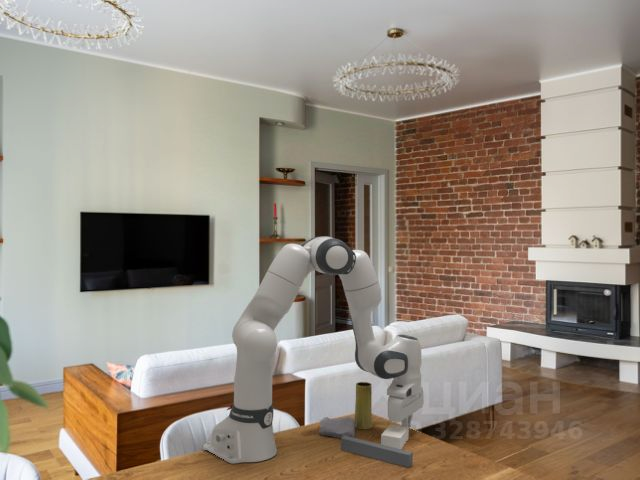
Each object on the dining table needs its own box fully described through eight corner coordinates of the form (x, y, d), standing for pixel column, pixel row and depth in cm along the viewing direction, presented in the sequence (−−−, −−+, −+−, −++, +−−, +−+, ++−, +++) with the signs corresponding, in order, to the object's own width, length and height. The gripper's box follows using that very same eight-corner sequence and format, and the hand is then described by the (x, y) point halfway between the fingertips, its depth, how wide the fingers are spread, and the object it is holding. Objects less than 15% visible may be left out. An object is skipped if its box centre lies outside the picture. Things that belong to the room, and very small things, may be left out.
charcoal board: (340, 449, 163) (340, 438, 163) (344, 447, 166) (345, 435, 166) (408, 467, 151) (409, 455, 151) (412, 464, 153) (412, 452, 153)
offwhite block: (380, 448, 166) (381, 434, 166) (389, 436, 175) (390, 424, 175) (400, 451, 164) (400, 438, 164) (408, 439, 173) (408, 427, 173)
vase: (360, 422, 188) (360, 380, 187) (375, 425, 184) (376, 383, 184) (350, 427, 183) (351, 384, 183) (366, 431, 179) (367, 387, 179)
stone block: (355, 444, 173) (356, 427, 183) (355, 430, 172) (355, 414, 182) (318, 444, 174) (320, 427, 183) (317, 430, 173) (319, 414, 182)
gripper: (411, 377, 187) (410, 417, 187) (384, 391, 170) (383, 435, 170) (428, 380, 183) (427, 421, 184) (402, 394, 166) (402, 439, 167)
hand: (406, 428), depth 177 cm, fingers closed
